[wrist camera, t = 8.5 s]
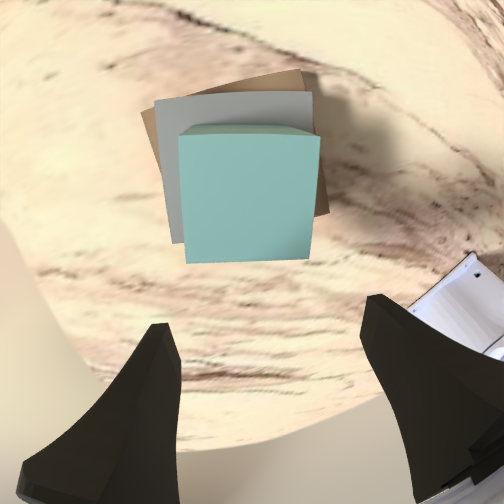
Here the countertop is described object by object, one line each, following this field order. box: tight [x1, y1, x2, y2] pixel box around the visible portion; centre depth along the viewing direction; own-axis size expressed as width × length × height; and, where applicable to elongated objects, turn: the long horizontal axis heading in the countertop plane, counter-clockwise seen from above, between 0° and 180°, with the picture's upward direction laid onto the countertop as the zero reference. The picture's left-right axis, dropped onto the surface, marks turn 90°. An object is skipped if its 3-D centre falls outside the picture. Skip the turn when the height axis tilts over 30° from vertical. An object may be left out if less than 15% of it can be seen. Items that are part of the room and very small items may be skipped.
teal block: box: [178, 124, 321, 264], centre depth 12 cm, size 4×4×5 cm
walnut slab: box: [141, 69, 330, 217], centre depth 17 cm, size 9×9×2 cm
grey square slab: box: [154, 91, 313, 244], centre depth 15 cm, size 8×8×2 cm
